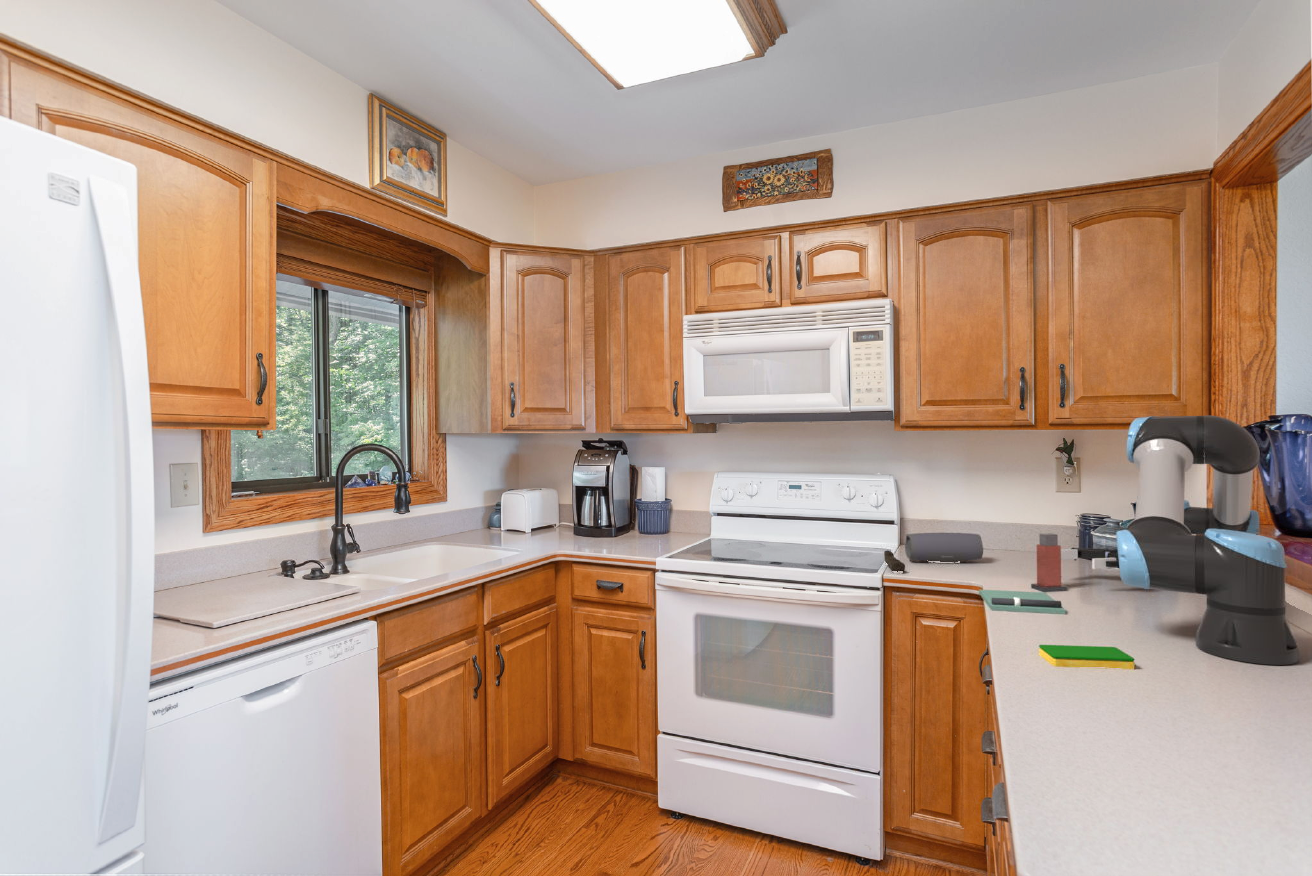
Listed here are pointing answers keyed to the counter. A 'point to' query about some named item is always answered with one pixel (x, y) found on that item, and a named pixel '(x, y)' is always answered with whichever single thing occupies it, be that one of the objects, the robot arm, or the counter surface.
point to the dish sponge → (1086, 656)
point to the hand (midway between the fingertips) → (1073, 559)
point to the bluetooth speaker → (944, 546)
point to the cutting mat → (1019, 595)
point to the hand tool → (893, 562)
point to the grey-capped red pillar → (1048, 564)
